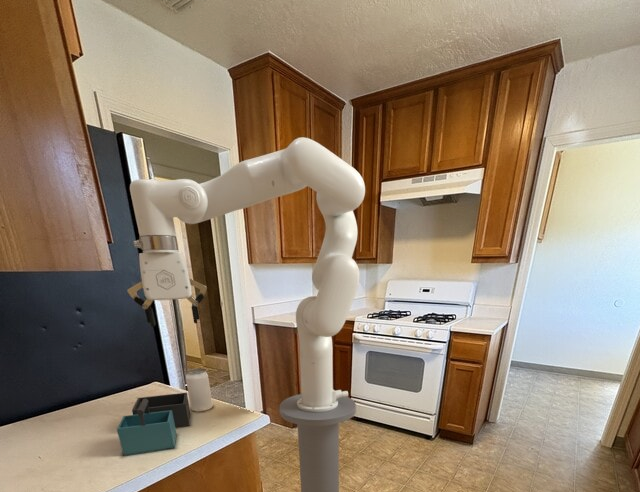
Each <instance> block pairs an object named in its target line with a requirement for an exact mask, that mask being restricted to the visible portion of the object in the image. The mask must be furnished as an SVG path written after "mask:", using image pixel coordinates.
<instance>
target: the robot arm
mask: <svg viewBox="0 0 640 492" xmlns="http://www.w3.org/2000/svg"><path fill="white" fill-rule="evenodd" d="M365 184H366V183H365V181H364V178H363V177H362V175H361V174H360V173H359V171H358V170H356V168H354V167H353V166H352V165H351V164H349V163H347V162H346V161H344V159H342V158H340V157H339V156H337V154H335V153H333V152H332V151H331V150H329V149H328V148H326V147H325V146H323V145H322V144H321V143H319V142H317V141H315V140H313V139H311V138H309V137H304V136H302V137H297V138H295V139H294V140H292V142H291V143H290V144H288V146H287V147H286V148H283V149H280V150H277V151H274V152H273V151H272V152H271V153H267V154H263V155H260V156H256V157H253V158H248V159H245V160H242V161H240V162H238V163H236V164H234V165H233V166H232V167H230V168H229V169H228V170H227V171H225V172H223V173H222V174H220V175H219V176H216V177H215V178H212V179H210V180H207V181H204V182H200V183H198V182H197V181H195V180H192V179H189V178H177V179H171V180H157V179H149V178H138V179H135V180H132V181H130V184H129V192H130V196H131V201H132V207H133V211H134V217H135V221H136V225H137V228H138V229H137V230H138V234H139V237H138V238H139V239H136V240H133V247H134V248H138V249H140V250H141V251H142V252H140V253H138V254H139V255H138V257H139V258H138V259H139V269H140V270H139V272H140V277H141V280H140V281H139V282H137V283H135V284H134V285H133V286H131V287H129V288H128V289H127V293H128V294H129V296H130V297H131V298H132V299H133V301H134V302H135V303H136V304H137V305H139V306H140V307H141V308H142V309H143V310H144V312H145V317H146V322H147V323H148V324H150V326H151V327H153V328H154V327H155V326H157V323H156V318H155V313H154V308H152V306H151V305H152V303H154V301H168V300H185V299H187V301H189V303H190V304H191V307H190V308H191V313H192V319H193V323H194V324H198V321H199V320H200V319H201V317H200V312H199V307H198V306H199V305H200V304H201V302H202V301H203V300H204V298H205V295H206V293H207V289H208V287H207V285H205V284H203V283H200V282H198V281H196V280H194V279H192V278H190V275H189V270H188V266H187V262H186V258H185V256H184V253H183V252H180V250H179V244H178V238H177V234H176V226H175V221H174V219H175V218H177V219H178V220H179V221H181V222H182V223H185V224H187V225H195V224H196V225H197V224H199V223H202V222H206V221H209V220H212V219H215V218H218V217H221V216H224V215H227V214H230V213H233V212H235V211H239V210H244V209H247V208H250V207H252V206H254V205H259V204H261V203H265V202H267V201H270V200H273V199H276V198H279V197H282V196H286V195H289V194H293V193H296V192H299V191H301V190H304V189H306V188H307V187H309V188H310V189H312V190H313V191H314V192H316V195H315V197H316V204H317V207H318V209H319V211H320V213H321V215H322V217H323V219H324V224H325V232H324V237H323V240H322V244H321V246H320V250H319V253H318V256H317V259H316V262H315V264H314V267H313V270H312V274H311V281H312V285H313V286H314V287H315V289H316V290H317V291H318V292H317V294H316V295H313V296H307V297H306V298H304V299H302V300H301V301H300V302H299V304H298V305H297V308H296V311H295V324H296V329H297V335H298V345H299V347H298V349H299V365H300V366H299V367H300V369H299V370H300V390H301V391H300V392H301V393H300V394H302V398H300V399H299V400H298V401H297V407H298V408H299V409H301V410H303V411H307V412H325V411H330V410H332V409H335V408H336V407H337V406H338V400H337V399H339V398H344V397H349V392H348V390H343V391H342V389H337V390H335V389H334V377H333V376H334V375H333V373H334V371H333V369H334V368H333V366H334V365H333V362H334V361H333V360H334V359H333V352H334V351H333V338H332V337H333V336H336V335H337V334H339V333H340V332H341V330H342V329H343V328H344V325H345V323H346V321H347V317H348V316H349V313H350V311H351V308H352V305H353V302H354V300H355V297H356V294H357V292H358V289H359V284H360V276H361V275H360V268H359V266H358V264H357V262H356V261H355V259H354V258H353V256H354V252H355V248H356V246H357V241H358V234H359V233H358V232H359V231H358V224H357V219H356V216H355V213H354V211H355V210H356V209H358V208H359V207H360V205H362V203H363V201H364V199H365V195H366V185H365ZM192 287H195V288H196V289H199V293H198V295H197V297H196V298H195V297H194V296H193V293H192ZM141 289H143V294H144V296H145V298H146V299H145V300H144V299H143V298H141V297H140V296H139V294H137V293H138V291H140V290H141Z"/></svg>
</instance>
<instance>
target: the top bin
mask: <svg viewBox="0 0 640 492" xmlns="http://www.w3.org/2000/svg"><path fill="white" fill-rule="evenodd" d="M144 411H146V413H145V414H144ZM116 432H117V437H118V440H119V443H120V446H121V450H122V454H123V457H126V456H132V455H133V456H134V455H139V454H146V453H147V454H148V453H153V452H159V451H166V450H172V449H175V448H176V443H177V441H176V440H177V438H178V437H177V436H178V435H177V428H175V423H174V418H173V413H172V410H169V411H161V412H153V413H150V411H149V407H148V399H143V400H142V402H141V404H140V406H139V409H138V411H137V414H136V415H133V414H130V415H123V417H122V418H121V420H120V422H119V424H118V425H117V427H116Z"/></svg>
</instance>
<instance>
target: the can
mask: <svg viewBox="0 0 640 492" xmlns="http://www.w3.org/2000/svg"><path fill="white" fill-rule="evenodd" d="M185 382H186V386H187V395H188V400H189V406H190V410H192V411H193V412H197V413H198V412H199V413H201V412H207V411H209V410H211V409H212V408H213V398H212V392H211V391H212V390H211V384H210V379H209V375H208V373H207V370H206V369H205V368H192V369H188V370H186V374H185Z"/></svg>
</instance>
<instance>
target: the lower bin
mask: <svg viewBox="0 0 640 492" xmlns="http://www.w3.org/2000/svg"><path fill="white" fill-rule="evenodd" d="M136 399H137V400H136V401H135V403H134V405H133V406H132V409H131V412H132V415H136V414H137V411H138V409H139V406H140V404H141V402H142V400H143V399H148V407H149V411H150V413H153V412H161V411H169V410H172V413H173V418H174V423H175V428H176V429H177V428H184V427H190V424H191V406H190V401H189V395H188V392H177V393H171V394H170V393H169V394H159V395H152V396H144V397H142V396H141V397H138V398H136ZM145 413H146V411H144V414H145Z"/></svg>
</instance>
